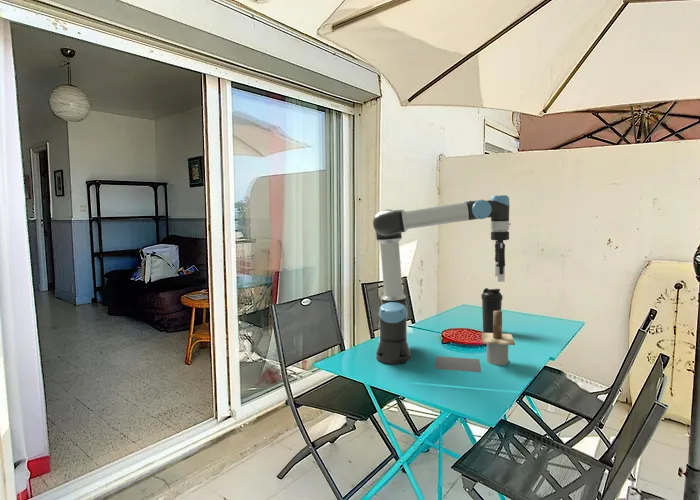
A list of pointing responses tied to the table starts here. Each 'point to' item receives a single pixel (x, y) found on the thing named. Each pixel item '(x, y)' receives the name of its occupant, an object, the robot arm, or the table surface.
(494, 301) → the water bottle
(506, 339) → the lid
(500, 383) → the table surface
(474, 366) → the mat
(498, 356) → the cup
